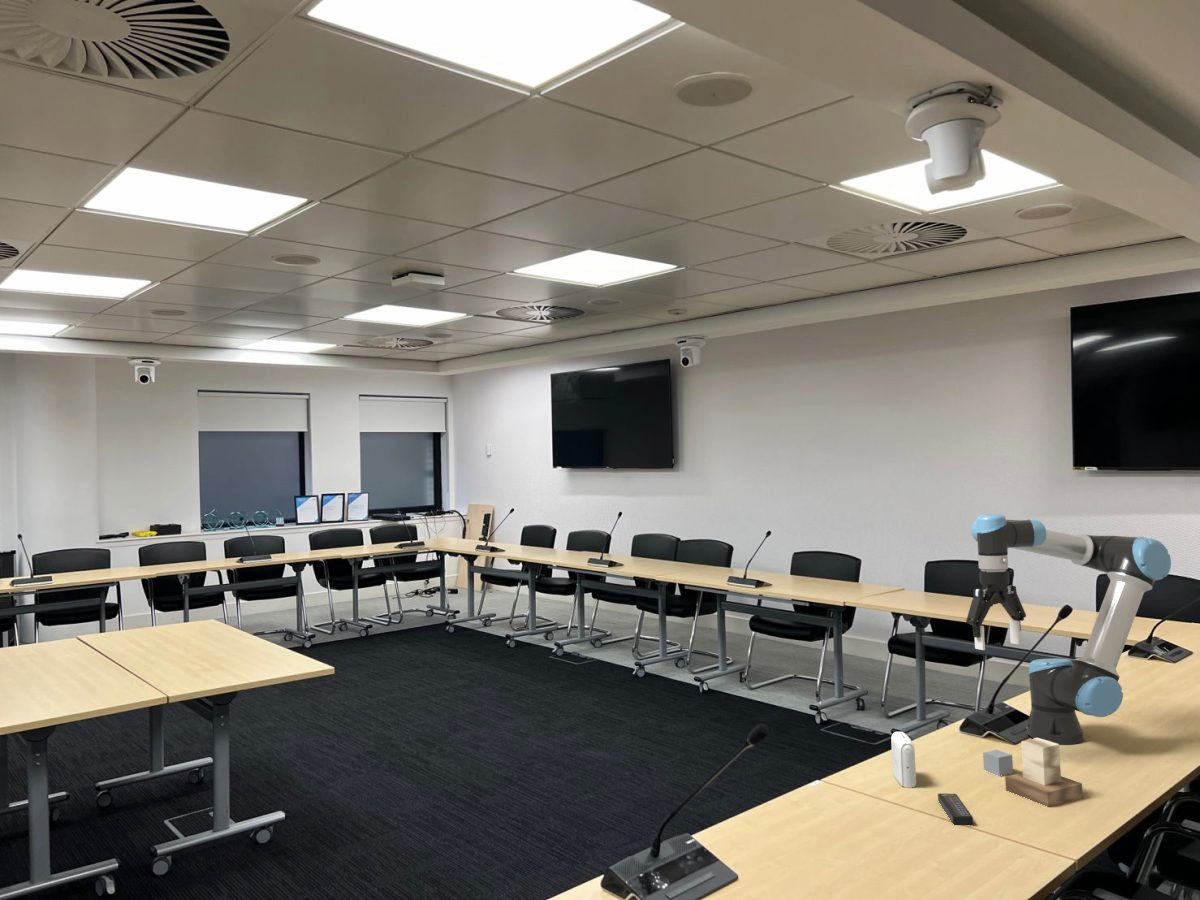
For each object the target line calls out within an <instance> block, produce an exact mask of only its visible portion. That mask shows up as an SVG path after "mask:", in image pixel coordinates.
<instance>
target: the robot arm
mask: <svg viewBox="0 0 1200 900" xmlns="http://www.w3.org/2000/svg"><path fill="white" fill-rule="evenodd" d="M970 531H971V536H972V538H973V539H974V541H976V543H977V553H978V554H977V559H978V569H979V570H980V571H979V572H978V575H979V583H980V584H981V585H982V588H981V589H979V588H974V589H973V591H972V593H973V594H972V595H973V597H972V600H971V604H970V607H969V609H968V613H967V617H966V620H965V621H966V623H967V624H969V625H971V626H972V633H973V634H972V636H973V638H974V649H976V650H981V651H985V650H986V643H985V639H986V638H985V626H984V625H982V624H983V623H984V620H985V619H986V616H987V615H988V613H989V611H990V610H991V609H990V608H991V607H993V606H994V605H998V604H1001V606H1002V607H1003V609H1004V610H1005V611H1006V614H1008V615H1009V617H1010V618H1011V619H1009V620H1008V621H1009V637H1010V639H1009V641H1010V644H1014V645H1021V630H1022V626H1021V622H1024V621H1025V618H1026V617H1027V613H1026V611H1025V609H1024V607H1023V604H1022V602H1021V600H1020V598H1019V595H1018V594H1017V593H1018V592H1017V587H1016V586H1015V585H1011V584H1010V572H1009V571H1008V569H1009V559H1008V558H1009V557H1008V554H1009V553H1008V551H1009V549H1015V550H1021V551H1024V552H1025V551H1026V552H1031V553H1033V554H1034V553H1036V554H1039V555H1040V554H1041V555H1045V556H1050V557H1055V558H1060V559H1064V560H1068V561H1069V560H1070V561H1071V562H1072V563H1073V564H1074V565H1077V566H1082V567H1086V568H1089V569H1093V570H1096V571H1099V572H1102V573H1105V574H1106V575H1107V577H1108V579H1109V585H1108V587H1107V589H1106V592H1105V595H1104V598H1103V600H1102V603H1101V606H1100V607H1099V608H1100V609H1099V610H1098V614H1097V616H1096V618H1095V619H1096V620H1095V622H1094V624H1093V627H1092V630H1091V632H1090V635H1089V638H1088V640H1087V643H1086V645H1085V649H1084V651H1083V654H1082V656H1079V657H1077V658H1074V660H1073V661H1072V660H1071V659H1068V658H1039V659H1034V660H1032V661H1030V663H1029V664H1028V665H1029V667H1028V669H1029V670H1028V671H1029V672H1028V677H1029V679H1028V680H1029V690H1030V691H1029V692H1030V703H1031V704H1030V705H1031V710H1030V713H1029V715H1028V718H1027V724H1026V726H1025V729H1027V731H1028V732H1029V734H1030V735H1031V737H1032V738H1033V739H1034V738H1040V739H1044V740H1047V741H1050V742H1054V743H1057V744H1059V745H1074V744H1075V745H1076V744H1080V743H1082V742H1083V741H1084V740H1085V736H1084V730H1083V729H1082V728H1081V727H1082V726H1081V724H1080V721H1079V718H1078V716H1077V714H1076V711H1077V712H1080V713H1082V714H1083V715H1086V716H1092V717H1095V718H1105V717H1109V716H1111V715H1114V713H1115V712H1117V710H1118V709H1119V708H1120V706H1121V705H1122V701H1123V698H1124V697H1123V696H1124V693H1123V692H1122V690H1123V687H1122V686H1121V684H1120V683H1119V680H1120V674H1119V673H1118V671H1117V666H1118V665H1119V661H1120V659H1121V655H1122V652H1123V650H1124V648H1125V645H1126V642H1127V641H1128V637H1129V634H1130V631H1131V628H1132V627H1133V623H1134V621H1135V617H1136V616H1137V615H1136V614H1137V612H1138V609H1139V608H1140V604H1141V602H1142V600H1143V596H1144V594H1145V593H1146V592H1148V591H1151V590H1153V587H1154V584H1155V581H1159V580H1163V579H1164V578H1166V577H1167V576H1168V574H1169V573H1170V571H1171V567H1172V560H1171V559H1172V558H1171V555H1170V554H1169V550H1168V548H1167V547H1166V546H1165V545H1164V544H1163V543H1162V542H1161V541H1159V540H1157V539H1154V538H1149V537H1148V538H1147V537H1144V536H1139V537H1137V536H1123V535H1122V536H1121V535H1091V534H1085V533H1079V534H1076V535H1073V534H1069V533H1063V532H1059V531H1053V530H1049V529H1046V526H1045V525H1044V523H1042V522H1041V521H1040V520H1037V519H1023V520H1021V519H1006V516H1005V515H1003V514H981V515H979V516H978V517H977V518H976V520H975V521H974V522H973V523H972V525H971V530H970ZM1009 584H1010V585H1009ZM1032 738H1031V739H1032Z"/></svg>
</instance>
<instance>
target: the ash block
mask: <svg viewBox="0 0 1200 900" xmlns="http://www.w3.org/2000/svg"><path fill="white" fill-rule="evenodd" d="M1020 746H1021V762H1022V763H1021V764H1022V765H1021V767H1022V772H1023V778H1025V779H1028V780H1031V781H1034V782H1036V783H1039V784H1042V785H1048V784H1052V783H1055V782H1059V781H1061V776H1062V773H1061V772H1062V770H1061V769H1062V768H1061V752H1060V750H1061V749H1060V744H1057V743H1054V742H1050V741H1047V740H1044V739H1040V738H1034V739H1032V738H1030V739H1026V740H1021V742H1020Z"/></svg>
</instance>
